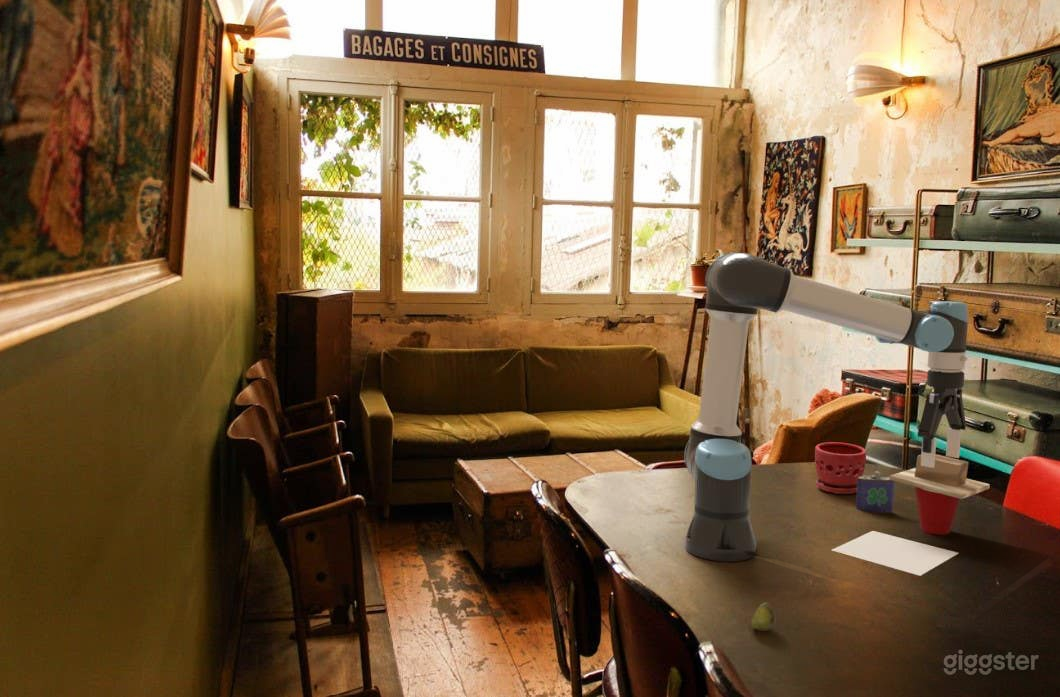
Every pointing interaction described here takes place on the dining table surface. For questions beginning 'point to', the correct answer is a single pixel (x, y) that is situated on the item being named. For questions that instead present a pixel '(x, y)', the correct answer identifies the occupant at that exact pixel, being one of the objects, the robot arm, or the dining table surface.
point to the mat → (896, 552)
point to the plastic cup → (935, 511)
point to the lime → (764, 617)
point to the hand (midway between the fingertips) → (940, 461)
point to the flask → (875, 494)
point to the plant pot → (839, 466)
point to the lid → (942, 477)
